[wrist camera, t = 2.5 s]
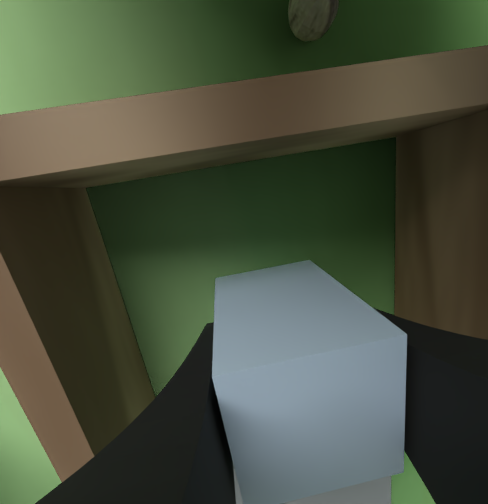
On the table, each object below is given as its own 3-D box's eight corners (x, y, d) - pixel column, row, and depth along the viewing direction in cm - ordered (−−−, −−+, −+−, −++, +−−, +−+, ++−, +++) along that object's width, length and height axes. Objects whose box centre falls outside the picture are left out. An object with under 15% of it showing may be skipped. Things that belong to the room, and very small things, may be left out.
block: (232, 358, 12) (245, 512, 6) (215, 277, 11) (212, 377, 5) (317, 340, 12) (403, 472, 7) (309, 259, 11) (407, 334, 5)
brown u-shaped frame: (154, 465, 13) (123, 598, 9) (42, 160, 9) (-124, 132, 5) (412, 403, 14) (498, 498, 10) (423, 101, 10) (585, 31, 5)
